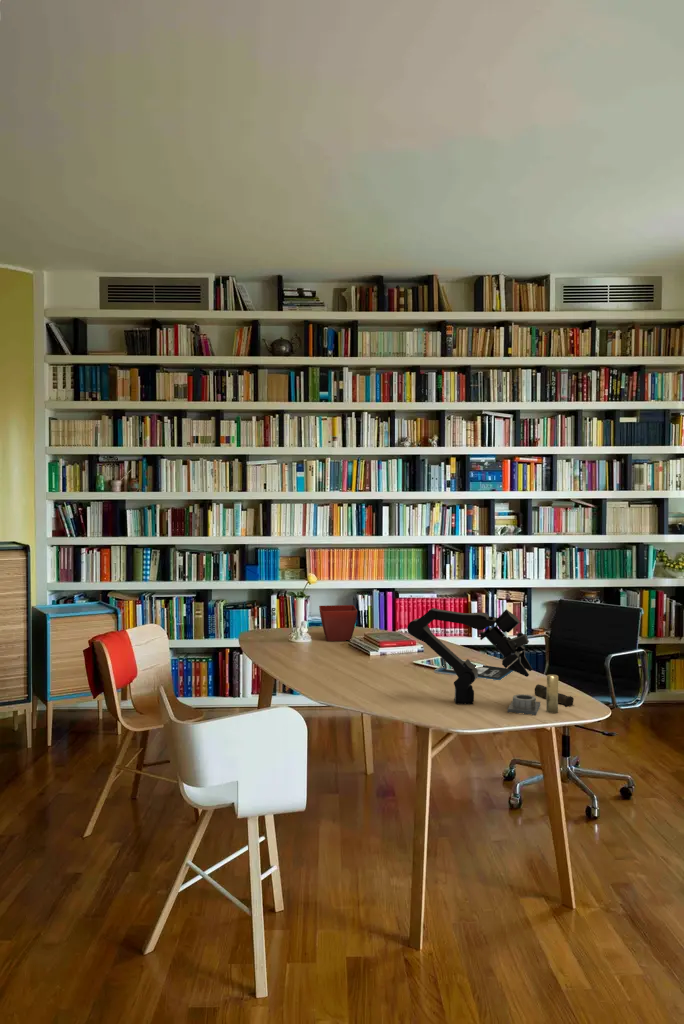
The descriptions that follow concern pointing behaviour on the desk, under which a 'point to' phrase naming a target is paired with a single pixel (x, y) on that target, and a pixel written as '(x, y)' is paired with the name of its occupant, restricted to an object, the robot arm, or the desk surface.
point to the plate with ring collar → (524, 704)
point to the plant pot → (338, 621)
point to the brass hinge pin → (552, 694)
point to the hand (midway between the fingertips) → (529, 673)
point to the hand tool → (562, 699)
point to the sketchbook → (481, 672)
